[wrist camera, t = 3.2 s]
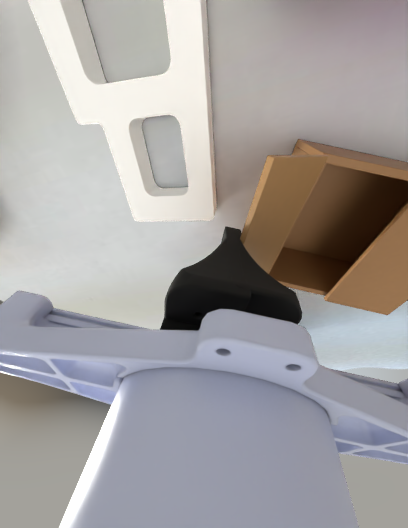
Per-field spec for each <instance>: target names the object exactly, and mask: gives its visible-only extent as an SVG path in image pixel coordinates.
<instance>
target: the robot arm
mask: <svg viewBox="0 0 408 528" xmlns="http://www.w3.org/2000/svg"><path fill="white" fill-rule="evenodd" d="M241 234H242V233H241V230H240V229H235V228H230V227H225V230H224V234H223V238H222V242H221V244H220V245H219V246H218V248H217V249H216V250H215V251H213V252H212V253H211V254H210V255H209V256H207V257H206V258H205V259H203V260H201V261H199V262H198V263H196V264H194V265H191V266H189V267H186V268H183V269H181V271H180V272H179V273H178V274H177V276H176V277H175V279H174V280H173V282H172V283H171V285H170V287H169V289H168V292H167V295H166V298H165V313H164V320H163V323H162V326H161V328H160V330H151V329H147V328H142V327H138V326H133V325H129V324H124V323H119V322H115V321H110V320H106V319H101V318H97V317H92V316H88V315H83V314H78V313H74V312H69V311H65V310H60V309H56V308H53V305H52V303H51V301H50V300H49V299H48V298H46V297H45V296H42V295H38V294H34V293H29V292H24V291H17V292H15V293H14V294H13V295H12V296H11V297H9V298H8V299H7V300H6V301H5V302H3V303H2V304H1V305H0V372H1V373H5V374H9V375H13V376H18V377H21V378H25V379H28V380H32V381H36V382H39V383H43V384H46V385H50V386H53V387H56V388H59V389H63V390H66V391H69V392H72V393H76V394H79V395H82V396H86V397H88V398H92V399H95V400H98V401H102V402H105V403H108V404H111V405H112V406H111V408H110V410H109V413H108V415H107V418H106V420H105V422H104V424H103V427H102V429H101V431H100V434H99V436H98V439H97V441H96V443H95V445H94V448H93V450H92V453H91V455H90V457H89V459H88V462H87V464H86V466H85V469H84V471H83V473H82V475H81V478H80V480H79V483H78V485H77V487H76V489H75V492H74V494H73V496H72V499H71V501H70V504H69V506H68V508H67V510H66V513H65V515H64V517H63V520H62V523H61V524H60V527H59V528H359V526H358V522H357V518H356V515H355V511H354V508H353V504H352V500H351V497H350V494H349V490H348V486H347V482H346V479H345V475H344V472H343V468H342V465H341V461H340V457H339V454H338V453H341V454H347V455H354V456H360V457H367V458H373V459H379V460H385V461H391V462H397V463H402V464H408V379H405V380H403V381H401V382H399V384H397V383H392V382H388V381H383V380H378V379H374V378H370V377H364V376H360V375H355V374H351V373H347V372H342V371H338V370H333V369H329V368H326V367H324V366H322V365H320V364H319V363H318V360H317V356H316V353H315V350H314V346H313V343H312V340H311V336H310V334H309V333H308V331H307V330H306V328H304V327H302V326H299V325H298V323H299V322H300V320H301V318H302V311H301V308H300V304H299V301H298V298H297V296H296V293H295V292H294V291H292V290H290V289H289V288H287V287H286V286H284V285H282V284H281V283H279V282H278V281H277V280H275V279H274V278H273V277H271V276H270V275H269V274H268V273H267V272H266V271H264V270H263V269H262V268H261V267H260V266H259V265H258V264H257V263H256V262H255V260H254V259H253V258H252V257H251V256H250V254H249V253H248V252H247V250H246V249H245V247H244V245H243V244H242V242H241V240H240V237H241Z"/></svg>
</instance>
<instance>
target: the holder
mask: <svg viewBox="0 0 408 528" xmlns="http://www.w3.org/2000/svg"><path fill="white" fill-rule="evenodd" d="M28 2H29V5H30V7H31V10H32V12H33V15H34V17H35V20H36V22H37V25H38V27H39V30H40V32H41V35H42V37H43V40H44V42H45V45H46V47H47V50H48V52H49V55H50V57H51V60H52V62H53V64H54V67H55V69H56V72H57V74H58V77H59V79H60V82H61V84H62V87H63V89H64V92H65V94H66V97H67V99H68V102H69V104H70V107H71V109H72V112H73V114H74V117H75V119H76V121H77V122H78V123H79V124H81V125H86V124H97V123H99V124H100V125H101V126H102V127H103V129H104V132H105V135H106V138H107V141H108V144H109V147H110V150H111V153H112V156H113V159H114V162H115V165H116V168H117V171H118V174H119V177H120V179H121V182H122V185H123V188H124V191H125V194H126V197H127V200H128V203H129V206H130V209H131V212H132V215H133V218H134V220H135V221H138V222H144V221H211V220H213V219H214V216H215V212H216V208H217V199H216V180H215V161H214V141H213V122H212V102H211V83H210V63H209V44H208V25H207V5H206V0H163V2H164V10H165V17H166V24H167V32H168V39H169V46H170V54H171V62H170V66H169V68H168V70H167V71H166V72H165V73H164V74H161V75H155V76H149V77H143V78H137V79H130V80H124V81H118V82H112V83H108V82H107V81H106V79H105V77H104V74H103V70H102V67H101V64H100V60H99V57H98V53H97V50H96V47H95V43H94V40H93V36H92V33H91V30H90V26H89V23H88V20H87V16H86V13H85V9H84V6H83V3H82V0H28ZM165 115H172V116H174V117H175V118H176V119H177V120H178V121H179V124H180V127H181V135H182V142H183V149H184V157H185V164H186V171H187V179H188V187H178V188H160V187H158V186H157V185H156V183H155V181H154V177H153V173H152V169H151V165H150V161H149V156H148V152H147V148H146V144H145V140H144V135H143V131H142V123H143V121H144V119H146V118H148V117H156V116H165Z"/></svg>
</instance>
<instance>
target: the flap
mask: <svg viewBox="0 0 408 528" xmlns="http://www.w3.org/2000/svg"><path fill="white" fill-rule="evenodd" d="M327 158H328V156H326V155H268V156H267V159H266V162H265V165H264V168H263V171H262V174H261V177H260V180H259V183H258V186H257V189H256V192H255V195H254V198H253V201H252V204H251V207H250V210H249V213H248V216H247V219H246V222H245V225H244V228H243V231H242V234H241V237H240V240H241V242H242V244H243V245H244V247H245V249H246V250H247V252H248V253H249V254H250V256H251V257H252V258H253V259H254V260H255V262H256V263H257V264H258V265H259V266H260V267H261V268H262V269H263V270H264V271H266V272H267V273H268V272H269V270H270V268H271V266H272V264H273V263H274V261H275V259H276V257H277V255H278V253H279V251H280V249H281V247H282V245H283V243H284V241H285V239H286V237H287V236H288V234H289V232H290V230H291V228H292V226H293V224H294V222H295V220H296V218H297V216H298V214H299V212H300V210H301V208H302V207H303V205H304V203H305V201H306V199H307V197H308V195H309V193H310V191H311V189H312V187H313V185H314V183H315V181H316V180H317V178H318V176H319V174H320V172H321V170H322V168H323V166H324V164H325V162H326V160H327Z"/></svg>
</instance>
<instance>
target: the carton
mask: <svg viewBox="0 0 408 528" xmlns="http://www.w3.org/2000/svg"><path fill="white" fill-rule="evenodd" d="M292 155H326V156H328V158H327V160H326V162H325V164H324V166H323V168H322V170H321V172H320V174H319V176H318V178H317V180H316V181H315V183H314V185H313V187H312V189H311V191H310V193H309V195H308V197H307V199H306V201H305V203H304V205H303V207H302V208H301V210H300V212H299V214H298V216H297V218H296V220H295V222H294V224H293V226H292V228H291V230H290V232H289V234H288V236H287V237H286V239H285V241H284V243H283V245H282V247H281V249H280V251H279V253H278V255H277V257H276V259H275V261H274V263H273V264H272V266H271V268H270V270H269V272H268V274H269V275H270V276H271V277H273V278H274V279H275V280H277V281H278V282H279V283H281V284H282V285H284V286H286V287H290V288H294V289H298V290H303V291H307V292H311V293H316V294H320V295H324V296H325V297H324V299H325V301H328V302H333V303H337V304H341V305H346V306H350V307H354V308H359V309H363V310H367V311H372V312H376V313H380V314H385V315H388V314H390V313H391V312H392V311H394V310H395V309H396V308H398V307H399V306H400V305H402V304H403V303H404V302H406V301H407V300H408V162H403V161H399V160H394V159H389V158H385V157H380V156H375V155H371V154H366V153H361V152H357V151H352V150H347V149H343V148H338V147H333V146H329V145H324V144H319V143H315V142H310V141H305V140H301V139H298V141H297V143H296V145H295V148H294V150H293V153H292Z"/></svg>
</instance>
